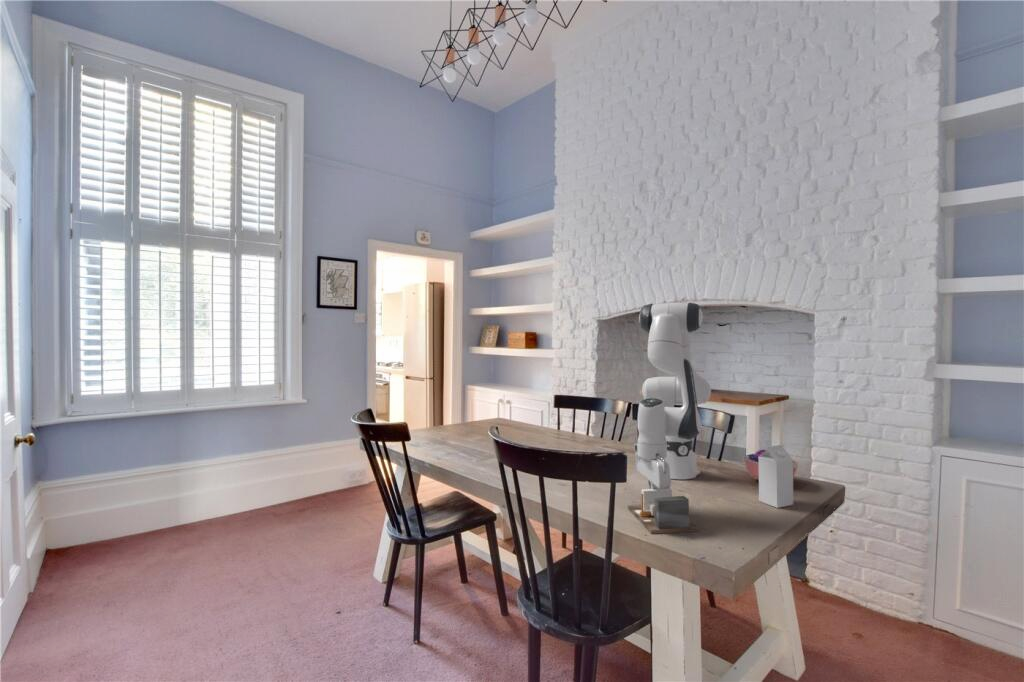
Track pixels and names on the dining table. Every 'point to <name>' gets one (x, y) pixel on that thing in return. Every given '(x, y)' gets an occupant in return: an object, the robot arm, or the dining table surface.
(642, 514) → the peak needle
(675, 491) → the dining table surface
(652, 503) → the white bent piece
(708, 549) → the dining table surface
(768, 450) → the milk carton
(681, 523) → the gauge base
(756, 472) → the cell model
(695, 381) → the robot arm
